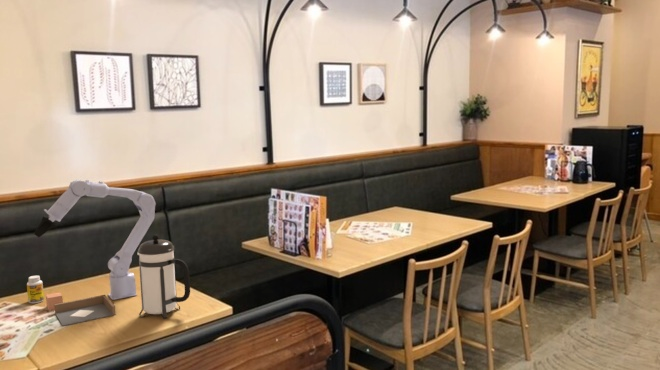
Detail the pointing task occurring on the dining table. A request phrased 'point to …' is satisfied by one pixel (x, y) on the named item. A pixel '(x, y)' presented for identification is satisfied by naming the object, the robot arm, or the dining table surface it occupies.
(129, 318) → the dining table surface
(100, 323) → the dining table surface
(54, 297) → the cube
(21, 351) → the dining table surface
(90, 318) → the tray
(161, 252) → the coffee press
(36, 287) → the supplement bottle
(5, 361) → the dining table surface
